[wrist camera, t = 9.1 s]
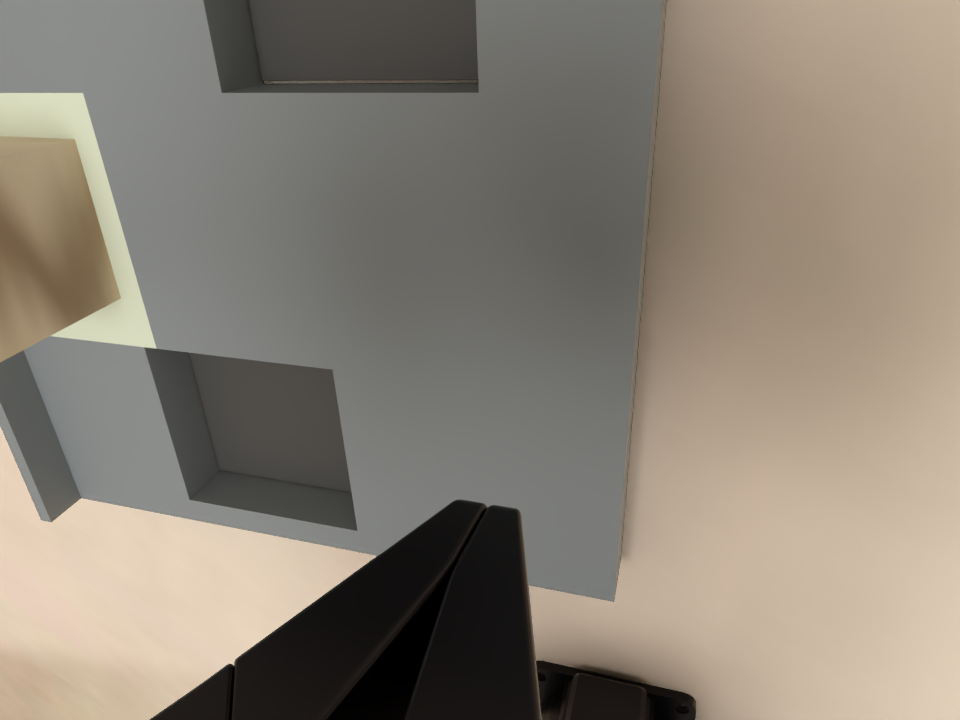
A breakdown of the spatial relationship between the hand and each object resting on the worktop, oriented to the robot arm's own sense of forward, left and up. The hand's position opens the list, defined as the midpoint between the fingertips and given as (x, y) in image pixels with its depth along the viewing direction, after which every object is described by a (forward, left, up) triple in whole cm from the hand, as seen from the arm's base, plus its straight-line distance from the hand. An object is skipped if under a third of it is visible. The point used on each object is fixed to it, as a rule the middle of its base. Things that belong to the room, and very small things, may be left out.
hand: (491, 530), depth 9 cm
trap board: (0, +10, -12) cm, 16 cm away
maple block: (0, +18, -10) cm, 20 cm away
